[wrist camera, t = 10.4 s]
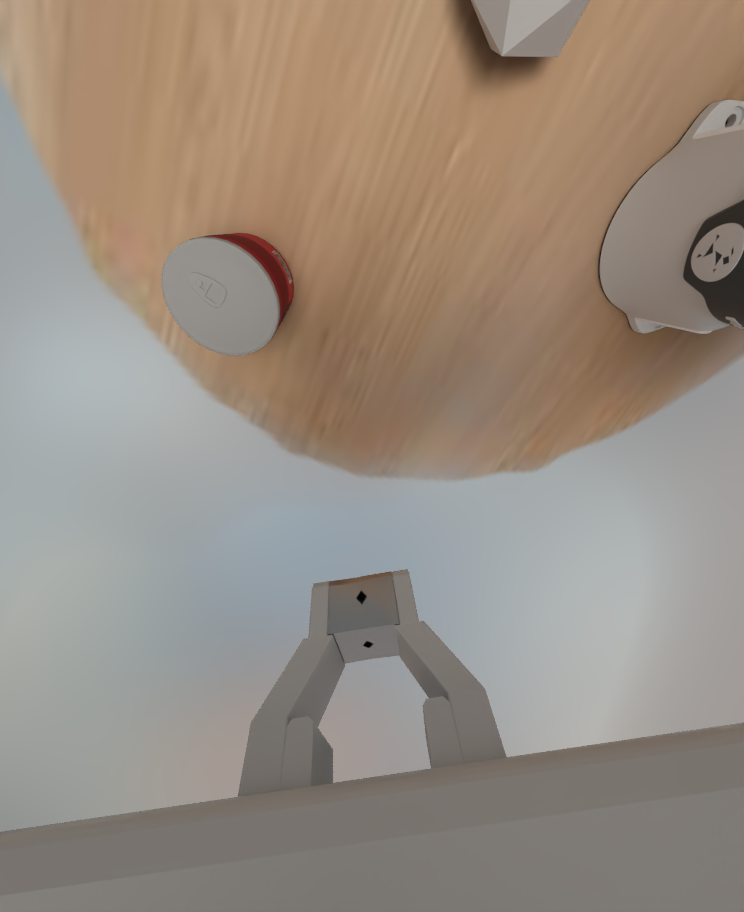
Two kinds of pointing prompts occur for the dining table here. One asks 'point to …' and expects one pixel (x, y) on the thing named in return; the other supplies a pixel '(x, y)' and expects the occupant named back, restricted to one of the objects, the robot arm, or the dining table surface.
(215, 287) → the canned food
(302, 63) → the dining table surface
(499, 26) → the die
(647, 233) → the robot arm
